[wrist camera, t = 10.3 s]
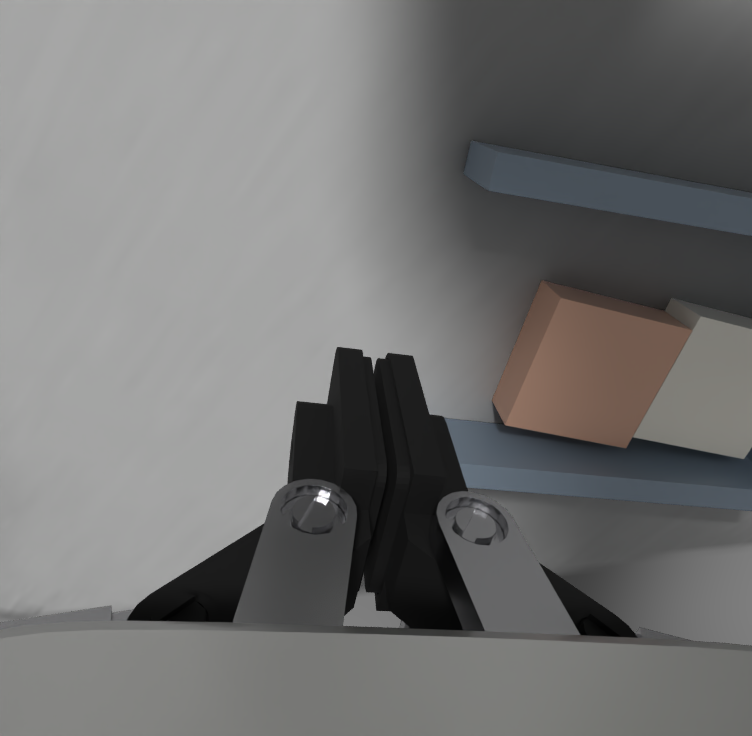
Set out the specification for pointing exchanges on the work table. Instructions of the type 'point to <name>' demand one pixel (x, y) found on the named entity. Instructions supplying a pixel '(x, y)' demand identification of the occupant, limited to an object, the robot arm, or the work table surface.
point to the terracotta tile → (587, 365)
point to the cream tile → (706, 385)
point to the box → (579, 457)
